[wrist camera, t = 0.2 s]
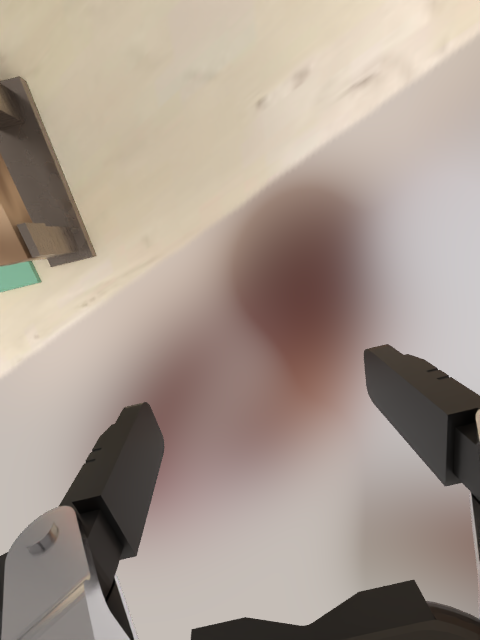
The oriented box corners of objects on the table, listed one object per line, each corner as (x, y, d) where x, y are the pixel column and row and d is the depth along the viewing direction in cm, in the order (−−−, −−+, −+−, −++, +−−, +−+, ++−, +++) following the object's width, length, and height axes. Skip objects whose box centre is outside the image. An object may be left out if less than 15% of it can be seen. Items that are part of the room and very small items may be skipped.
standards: (-24, 94, 29) (-149, 25, 19) (25, 81, 29) (-75, 5, 19) (55, 266, 35) (-9, 279, 25) (96, 255, 35) (47, 265, 25)
